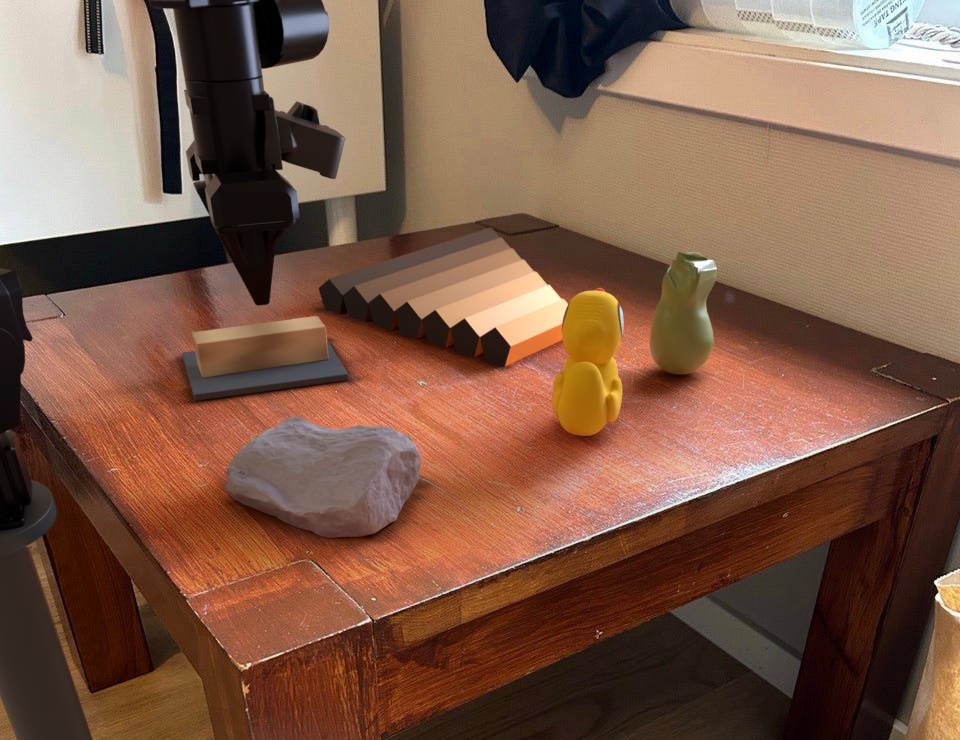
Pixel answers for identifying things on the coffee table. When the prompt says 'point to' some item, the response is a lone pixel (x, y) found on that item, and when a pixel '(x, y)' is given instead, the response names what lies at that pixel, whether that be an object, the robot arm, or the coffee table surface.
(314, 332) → the maple bar
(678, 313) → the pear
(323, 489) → the stone block
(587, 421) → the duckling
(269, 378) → the grey mat
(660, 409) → the coffee table surface
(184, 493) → the coffee table surface
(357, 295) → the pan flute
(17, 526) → the robot arm
